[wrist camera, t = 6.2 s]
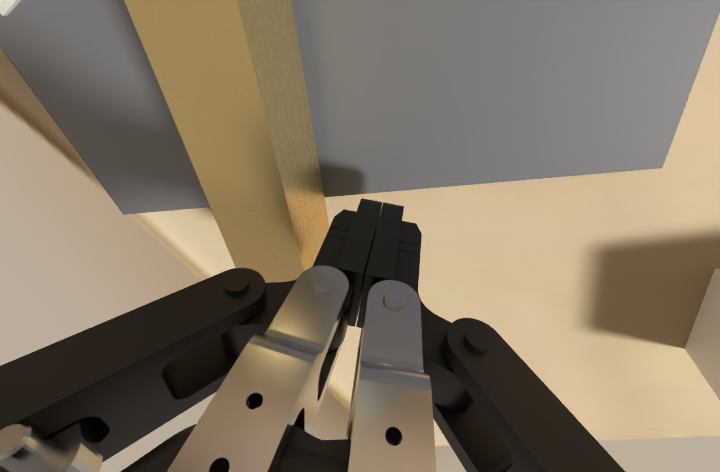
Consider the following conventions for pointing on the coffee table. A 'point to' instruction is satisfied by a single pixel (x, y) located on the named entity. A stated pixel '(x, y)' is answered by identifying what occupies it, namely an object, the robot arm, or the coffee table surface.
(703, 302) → the beige cube
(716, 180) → the coffee table surface
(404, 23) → the grey base plate
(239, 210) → the tan handled round piece
